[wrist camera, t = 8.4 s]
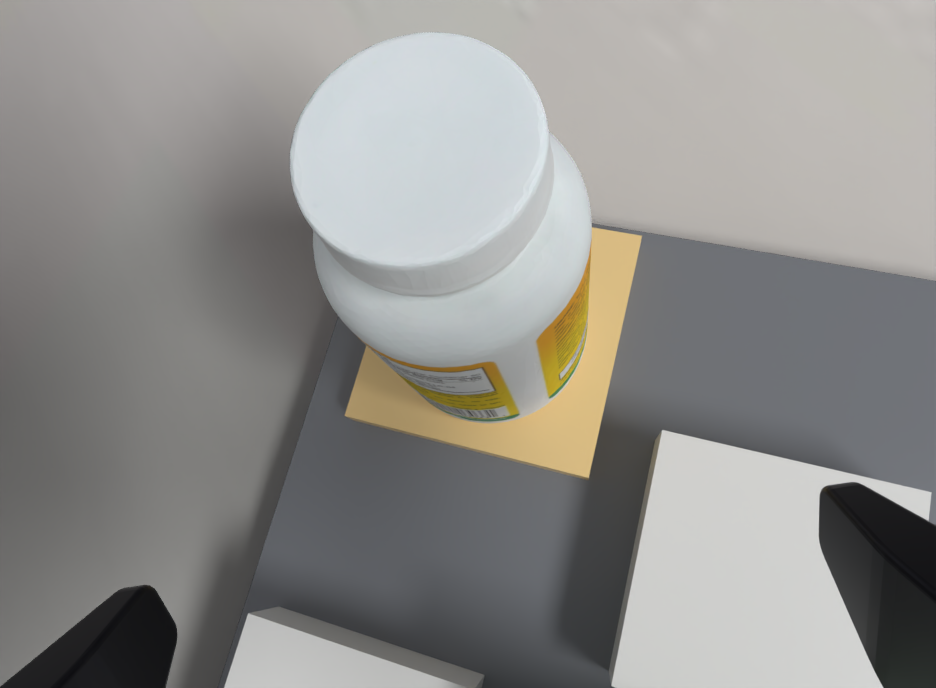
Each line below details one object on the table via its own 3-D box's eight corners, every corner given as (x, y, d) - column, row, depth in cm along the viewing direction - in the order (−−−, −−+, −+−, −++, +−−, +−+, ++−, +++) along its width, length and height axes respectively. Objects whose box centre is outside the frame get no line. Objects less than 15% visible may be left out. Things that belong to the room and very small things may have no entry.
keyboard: (895, 1227, 14) (971, 1399, 11) (170, 893, 18) (94, 958, 15) (979, 307, 19) (1049, 266, 16) (390, 205, 23) (362, 158, 20)
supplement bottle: (448, 460, 18) (313, 382, 9) (373, 297, 20) (195, 97, 11) (626, 369, 18) (667, 198, 9) (534, 214, 20) (492, -61, 11)
